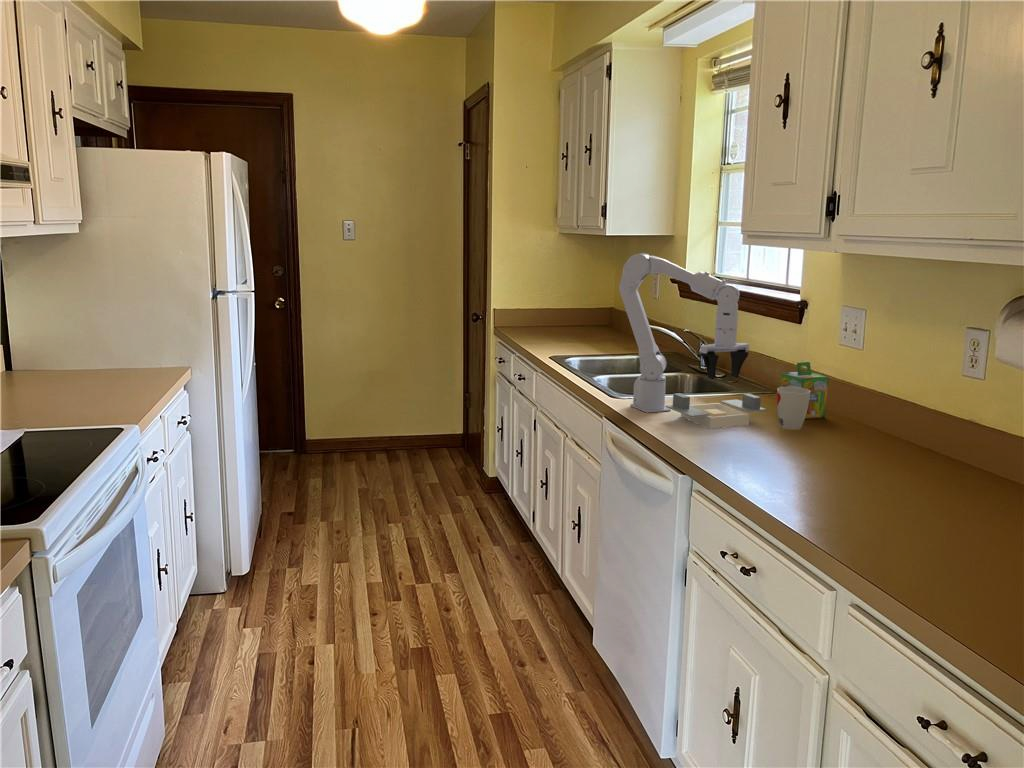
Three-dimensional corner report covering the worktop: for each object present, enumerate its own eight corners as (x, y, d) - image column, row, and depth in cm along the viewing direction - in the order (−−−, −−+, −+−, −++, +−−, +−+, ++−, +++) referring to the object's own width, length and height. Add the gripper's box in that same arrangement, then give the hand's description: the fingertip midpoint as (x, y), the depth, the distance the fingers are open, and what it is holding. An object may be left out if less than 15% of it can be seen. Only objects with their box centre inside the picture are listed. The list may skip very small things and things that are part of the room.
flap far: (720, 402, 224) (721, 389, 223) (737, 400, 226) (738, 388, 225) (748, 412, 212) (749, 398, 211) (765, 410, 214) (766, 397, 213)
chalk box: (800, 420, 218) (804, 366, 215) (777, 413, 226) (781, 361, 223) (826, 417, 221) (831, 364, 218) (803, 410, 229) (807, 359, 226)
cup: (779, 422, 216) (782, 385, 214) (810, 426, 211) (814, 389, 209) (770, 428, 209) (773, 390, 207) (802, 432, 205) (805, 394, 203)
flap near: (665, 406, 217) (666, 393, 217) (683, 405, 219) (683, 392, 219) (691, 417, 206) (691, 403, 205) (709, 415, 208) (710, 401, 207)
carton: (680, 416, 221) (681, 406, 220) (717, 413, 225) (718, 402, 224) (710, 428, 208) (711, 417, 207) (749, 425, 212) (749, 414, 211)
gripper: (712, 331, 213) (709, 382, 215) (757, 329, 218) (754, 378, 220) (697, 328, 219) (694, 377, 222) (741, 326, 224) (738, 374, 227)
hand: (723, 377), depth 221 cm, fingers open, 7 cm apart
